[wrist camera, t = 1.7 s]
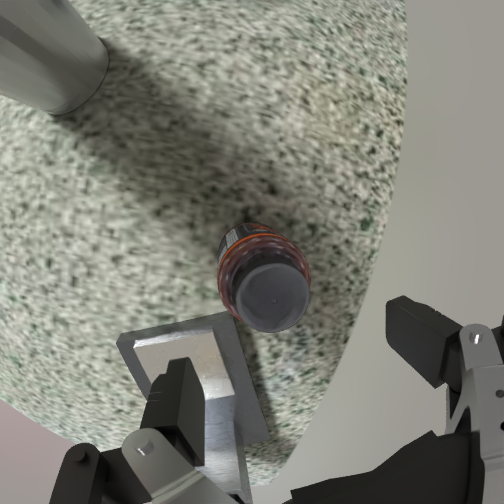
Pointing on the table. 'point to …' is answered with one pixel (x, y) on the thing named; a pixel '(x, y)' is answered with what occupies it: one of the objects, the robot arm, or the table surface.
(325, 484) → the robot arm
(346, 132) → the table surface
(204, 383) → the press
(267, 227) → the supplement bottle
